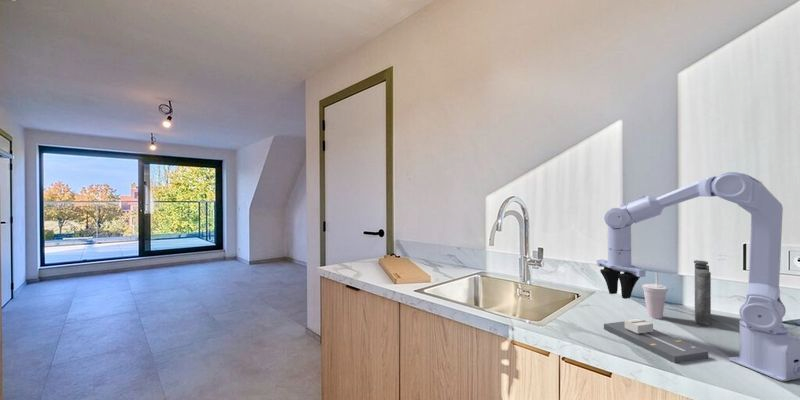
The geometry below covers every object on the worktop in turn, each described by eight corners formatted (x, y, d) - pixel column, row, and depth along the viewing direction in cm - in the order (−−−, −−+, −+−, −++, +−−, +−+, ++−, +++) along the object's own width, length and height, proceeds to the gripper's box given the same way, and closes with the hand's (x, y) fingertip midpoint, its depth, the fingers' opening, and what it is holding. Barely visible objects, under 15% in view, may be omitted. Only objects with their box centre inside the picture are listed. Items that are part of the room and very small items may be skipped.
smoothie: (672, 321, 101) (672, 275, 101) (648, 319, 102) (648, 274, 102) (660, 313, 107) (660, 270, 107) (638, 312, 109) (638, 270, 108)
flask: (694, 324, 98) (693, 264, 98) (693, 311, 109) (693, 256, 109) (710, 327, 96) (710, 265, 96) (709, 313, 107) (709, 258, 106)
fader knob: (652, 331, 89) (652, 323, 89) (637, 333, 88) (637, 325, 88) (639, 326, 93) (639, 318, 93) (624, 327, 92) (624, 319, 92)
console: (708, 357, 79) (708, 351, 78) (674, 362, 76) (674, 356, 76) (632, 325, 98) (632, 320, 98) (603, 328, 96) (603, 323, 96)
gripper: (588, 246, 102) (588, 289, 103) (630, 254, 88) (630, 304, 88) (607, 245, 104) (607, 288, 104) (651, 252, 90) (651, 302, 90)
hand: (619, 295), depth 96 cm, fingers open, 4 cm apart
